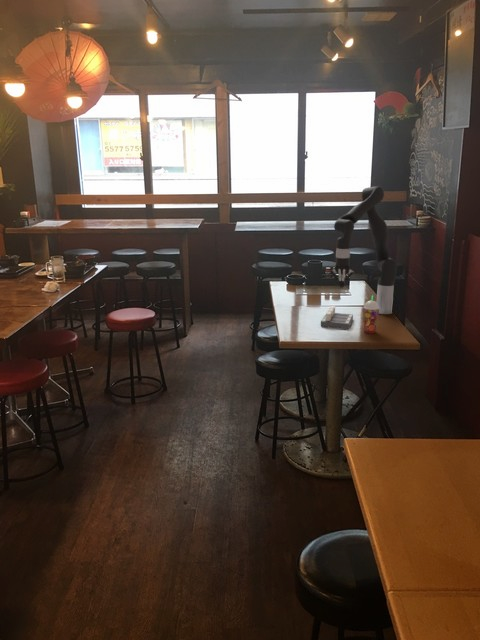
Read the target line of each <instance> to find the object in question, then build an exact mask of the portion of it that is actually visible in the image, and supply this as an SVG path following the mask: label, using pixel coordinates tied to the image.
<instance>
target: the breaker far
mask: <svg viewBox="0 0 480 640" xmlns="http://www.w3.org/2000/svg"><path fill="white" fill-rule="evenodd" d="M329 308H330V309H333V315H334V314H335V313H336V306H335V305H331V306H330V307H329Z"/></svg>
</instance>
